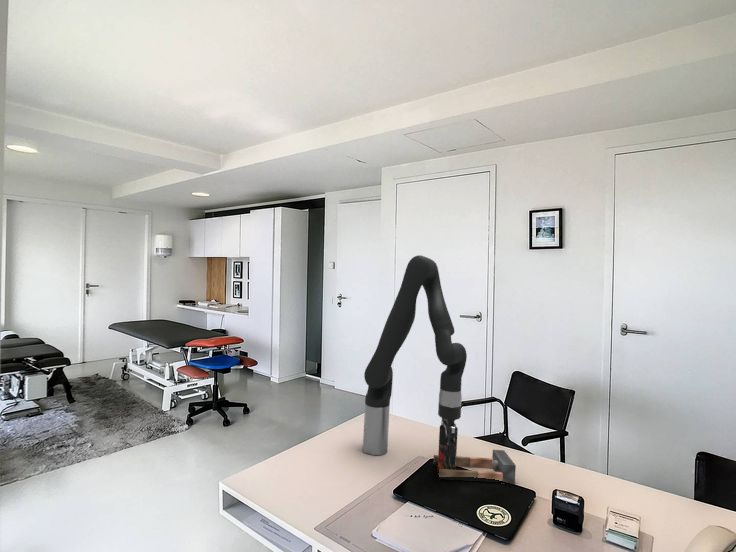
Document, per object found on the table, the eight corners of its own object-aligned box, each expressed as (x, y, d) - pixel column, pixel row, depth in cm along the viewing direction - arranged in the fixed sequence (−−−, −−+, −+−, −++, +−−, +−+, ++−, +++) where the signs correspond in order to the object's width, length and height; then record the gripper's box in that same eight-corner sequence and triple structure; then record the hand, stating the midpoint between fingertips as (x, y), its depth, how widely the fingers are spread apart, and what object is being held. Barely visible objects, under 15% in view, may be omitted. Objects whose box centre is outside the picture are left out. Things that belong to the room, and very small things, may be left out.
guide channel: (438, 479, 128) (439, 461, 128) (433, 463, 139) (434, 446, 139) (514, 484, 128) (515, 465, 128) (503, 467, 139) (504, 450, 139)
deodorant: (457, 476, 130) (459, 431, 130) (439, 475, 131) (441, 430, 131) (453, 468, 136) (455, 424, 136) (436, 467, 136) (438, 423, 137)
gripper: (435, 395, 141) (433, 441, 141) (442, 409, 126) (440, 459, 126) (456, 396, 141) (454, 442, 141) (466, 410, 126) (463, 460, 126)
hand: (447, 450), depth 134 cm, fingers open, 8 cm apart
